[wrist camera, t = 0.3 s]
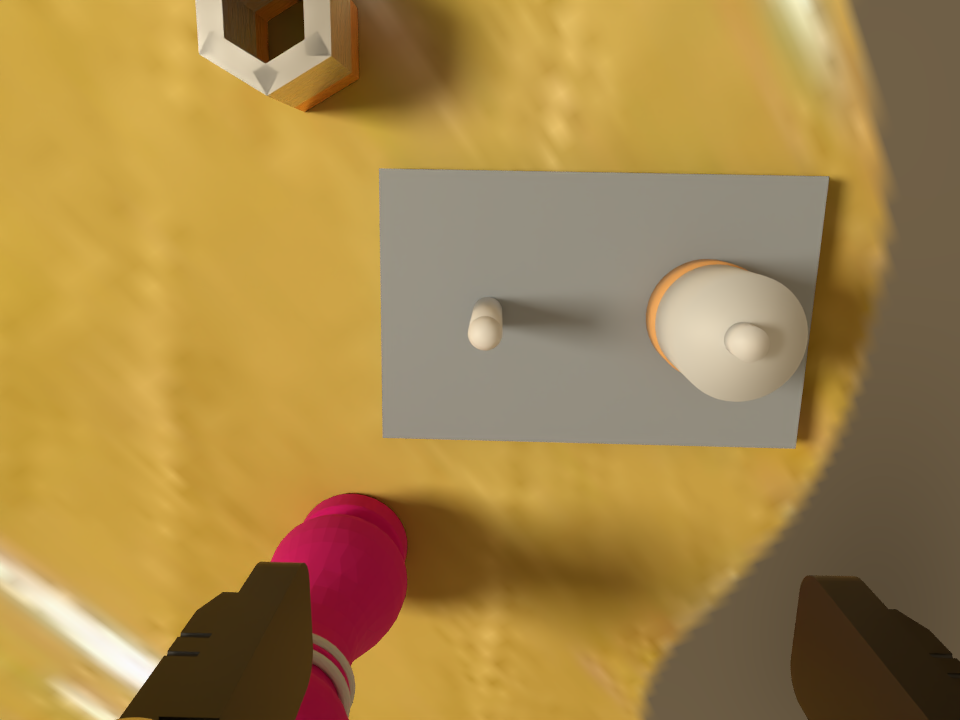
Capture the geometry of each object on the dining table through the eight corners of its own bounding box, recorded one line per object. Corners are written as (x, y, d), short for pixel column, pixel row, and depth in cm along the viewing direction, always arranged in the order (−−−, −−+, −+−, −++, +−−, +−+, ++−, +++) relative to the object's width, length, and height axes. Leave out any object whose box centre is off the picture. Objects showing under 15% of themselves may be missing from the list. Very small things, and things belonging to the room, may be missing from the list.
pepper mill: (385, 617, 42) (288, 974, 23) (273, 567, 42) (77, 890, 22) (436, 516, 41) (378, 808, 21) (321, 463, 40) (154, 714, 21)
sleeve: (249, 111, 36) (201, 94, 30) (242, -29, 35) (190, -74, 29) (359, 112, 36) (332, 96, 30) (357, -28, 35) (327, -73, 29)
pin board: (383, 169, 37) (349, 162, 28) (815, 177, 36) (912, 171, 28) (387, 428, 40) (356, 491, 31) (784, 439, 39) (862, 506, 31)
